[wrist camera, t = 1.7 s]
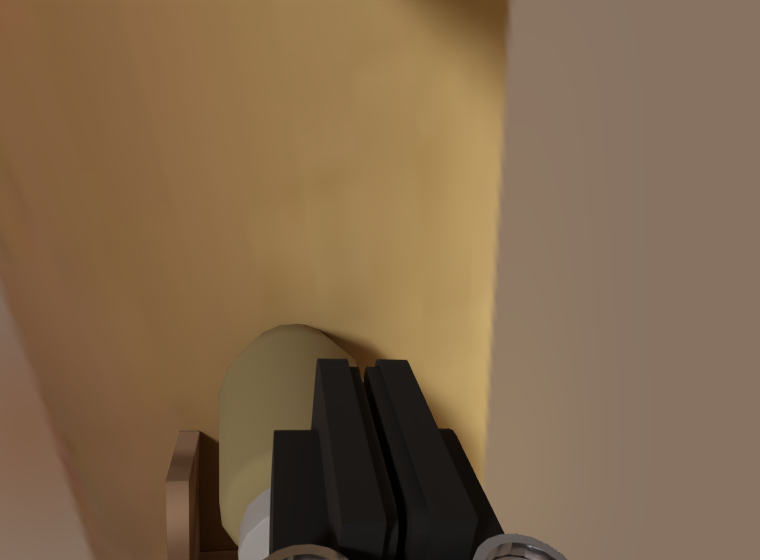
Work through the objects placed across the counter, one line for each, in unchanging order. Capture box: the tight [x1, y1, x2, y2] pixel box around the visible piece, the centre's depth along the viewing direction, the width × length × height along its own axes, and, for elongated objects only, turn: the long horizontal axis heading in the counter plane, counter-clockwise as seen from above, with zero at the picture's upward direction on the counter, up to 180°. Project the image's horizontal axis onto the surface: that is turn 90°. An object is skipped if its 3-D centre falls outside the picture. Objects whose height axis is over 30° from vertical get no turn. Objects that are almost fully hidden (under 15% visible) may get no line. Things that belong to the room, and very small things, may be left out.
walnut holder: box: [166, 431, 239, 560], centre depth 33 cm, size 11×13×9 cm
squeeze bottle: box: [219, 324, 364, 560], centre depth 25 cm, size 8×8×18 cm
